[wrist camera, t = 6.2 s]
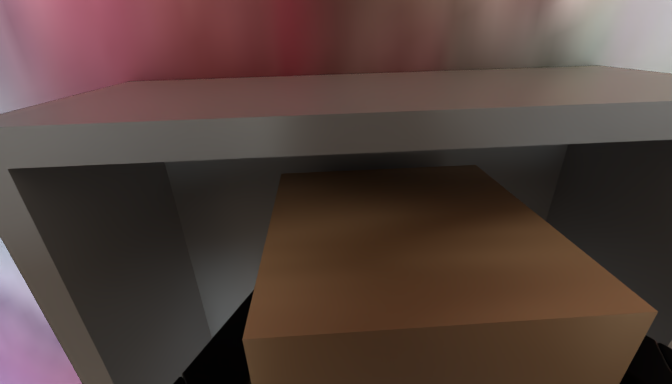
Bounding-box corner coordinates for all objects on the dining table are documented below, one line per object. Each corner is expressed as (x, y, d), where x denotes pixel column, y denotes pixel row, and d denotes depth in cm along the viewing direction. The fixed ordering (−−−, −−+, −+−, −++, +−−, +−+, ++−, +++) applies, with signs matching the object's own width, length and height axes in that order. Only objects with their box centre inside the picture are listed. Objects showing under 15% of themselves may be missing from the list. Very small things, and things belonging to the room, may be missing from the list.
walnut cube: (475, 164, 8) (658, 311, 4) (450, 308, 11) (551, 510, 6) (281, 173, 8) (241, 339, 4) (296, 319, 10) (283, 535, 6)
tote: (490, 421, 17) (554, 561, 12) (232, 441, 16) (201, 596, 12) (597, 65, 9) (854, 94, 5) (129, 81, 9) (-60, 129, 4)
